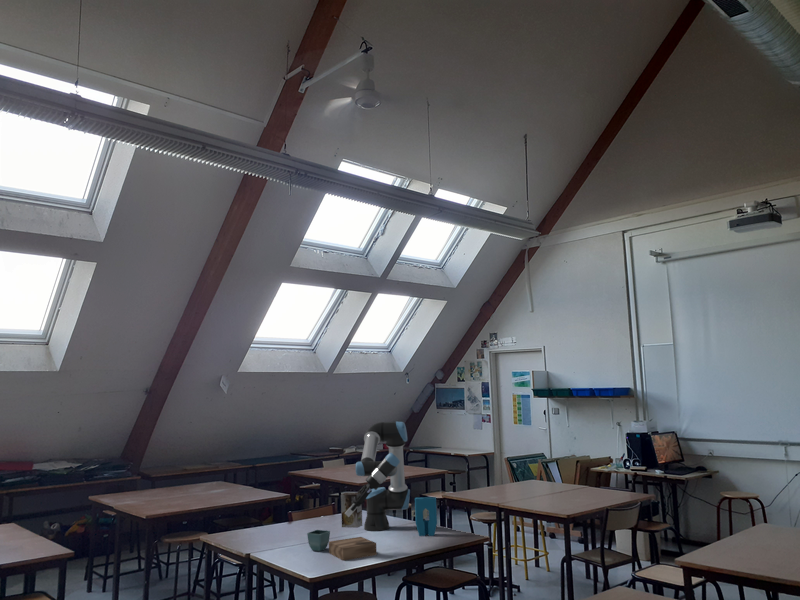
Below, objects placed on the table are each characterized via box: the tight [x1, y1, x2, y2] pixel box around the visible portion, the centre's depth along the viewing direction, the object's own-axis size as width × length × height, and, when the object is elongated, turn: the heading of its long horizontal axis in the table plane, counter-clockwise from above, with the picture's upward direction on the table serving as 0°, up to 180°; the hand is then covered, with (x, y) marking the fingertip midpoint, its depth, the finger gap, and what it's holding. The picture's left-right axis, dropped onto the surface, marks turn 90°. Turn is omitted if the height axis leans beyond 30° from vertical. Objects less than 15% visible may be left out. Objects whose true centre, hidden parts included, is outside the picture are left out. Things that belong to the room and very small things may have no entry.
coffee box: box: [340, 492, 363, 529], centre depth 299 cm, size 9×6×16 cm
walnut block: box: [328, 536, 378, 561], centre depth 296 cm, size 18×18×6 cm
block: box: [414, 496, 438, 537], centre depth 335 cm, size 12×5×20 cm, turn 86°
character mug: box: [411, 508, 429, 530], centre depth 348 cm, size 11×7×13 cm, turn 84°
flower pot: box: [306, 529, 331, 552], centre depth 307 cm, size 9×9×9 cm
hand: (345, 513), depth 298 cm, fingers closed on coffee box, 10 cm apart
